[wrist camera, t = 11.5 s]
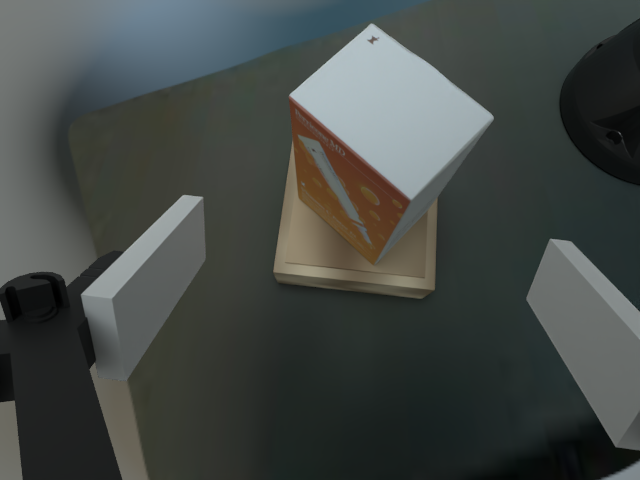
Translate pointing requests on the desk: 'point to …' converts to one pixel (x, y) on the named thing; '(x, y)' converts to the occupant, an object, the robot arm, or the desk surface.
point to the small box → (379, 139)
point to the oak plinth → (351, 253)
